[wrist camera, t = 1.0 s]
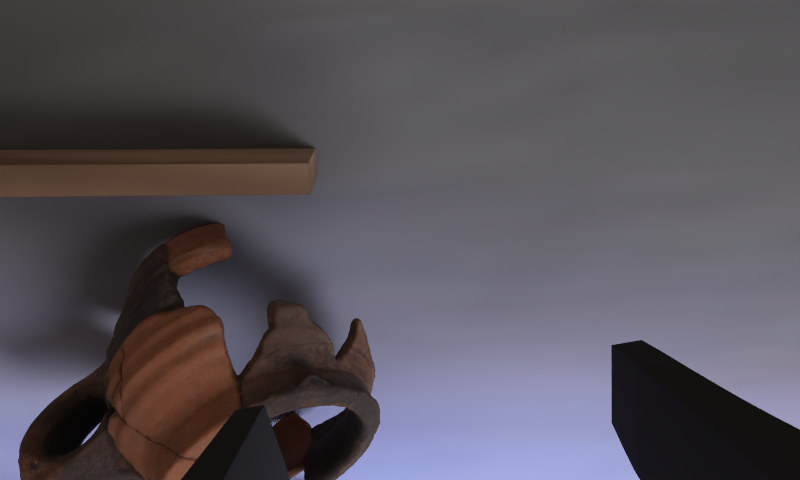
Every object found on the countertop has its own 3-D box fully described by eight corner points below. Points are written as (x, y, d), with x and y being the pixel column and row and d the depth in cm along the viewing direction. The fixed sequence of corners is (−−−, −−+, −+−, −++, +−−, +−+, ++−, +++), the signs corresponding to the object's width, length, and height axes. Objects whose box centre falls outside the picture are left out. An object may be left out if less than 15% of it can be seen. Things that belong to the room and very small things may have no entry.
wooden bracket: (333, 503, 24) (329, 562, 22) (-180, 526, 23) (-255, 593, 20) (315, 148, 18) (306, 166, 16) (-382, 151, 17) (-530, 172, 14)
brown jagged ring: (280, 165, 19) (366, 324, 14) (349, 305, 26) (424, 448, 21) (-48, 317, 17) (-99, 574, 12) (121, 425, 24) (137, 618, 19)
